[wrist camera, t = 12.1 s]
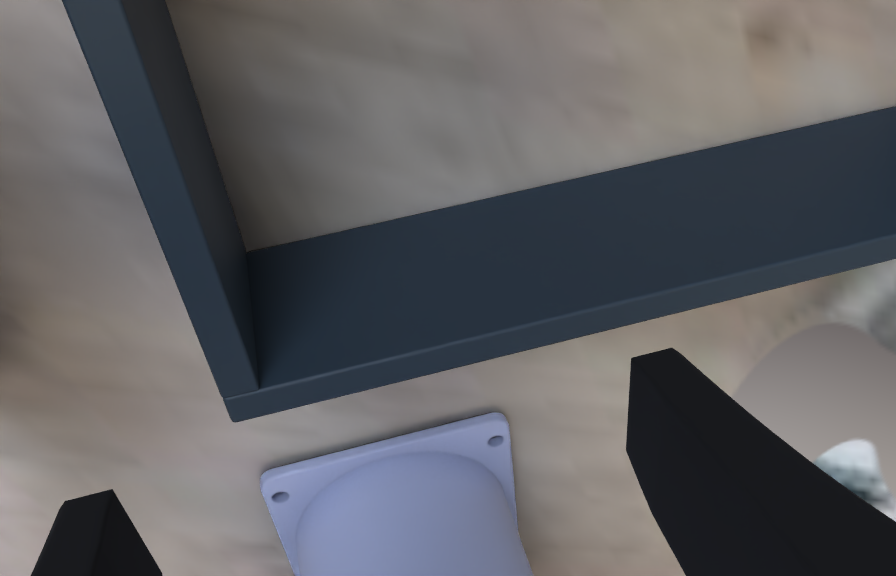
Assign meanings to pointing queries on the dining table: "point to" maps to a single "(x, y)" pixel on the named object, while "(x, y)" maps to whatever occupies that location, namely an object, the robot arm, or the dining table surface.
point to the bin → (474, 239)
